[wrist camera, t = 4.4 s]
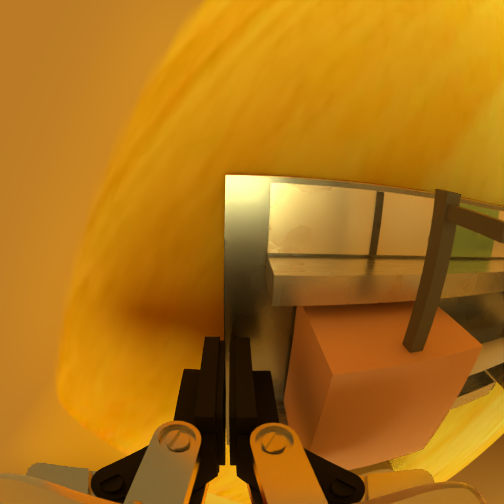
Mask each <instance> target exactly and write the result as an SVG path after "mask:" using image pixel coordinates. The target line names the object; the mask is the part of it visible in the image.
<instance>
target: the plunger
mask: <svg viewBox="0 0 504 504" xmlns="http://www.w3.org/2000/svg"><path fill="white" fill-rule="evenodd" d="M460 197H461V194H458V193H454V192H449V191H444V190H439V189H436V190H435V200H434V208H433V215H432V222H431V229H430V235H429V241H428V246H427V251H426V256H425V261H424V266H423V271H422V275H421V279H420V284H419V288H418V292H417V295H416V299H415V301H403V302H387V303H369V304H347V305H314V306H297V309H296V317H295V325H294V333H293V341H292V348H291V355H290V362H289V369H288V376H287V382H286V389H285V395H284V406H285V411H286V416H287V421H288V426H289V427H290V428H292V429H293V430H294V431H295V432H296V434H297V435H298V437H299V439H300V442H301V444H302V446H303V448H305V449H307V450H309V451H311V452H312V453H314V454H316V455H318V456H320V457H322V458H324V459H326V460H328V461H330V462H332V463H334V464H336V465H338V466H340V467H342V468H344V469H346V470H352V469H356V468H361V467H365V466H369V465H373V464H377V463H380V462H384V461H388V460H391V459H394V458H398V457H401V456H404V455H407V454H410V453H413V452H416V451H419V450H421V449H424V447H425V446H426V445H427V443H428V442H429V440H430V439H431V438H432V436H433V435H434V433H435V432H436V430H437V429H438V427H439V426H440V424H441V423H442V421H443V420H444V418H445V417H446V415H447V413H448V412H449V410H450V409H451V407H452V405H453V404H454V402H455V400H456V398H457V397H458V395H459V393H460V391H461V390H462V388H463V386H464V384H465V382H466V380H467V378H468V376H470V375H473V374H476V373H478V372H481V371H484V370H486V369H489V368H491V367H494V366H496V365H499V364H501V363H504V337H501V338H498V339H495V340H492V341H488V342H485V343H482V344H481V343H480V342H478V341H477V340H476V339H475V338H474V337H473V336H472V335H471V334H470V333H469V332H467V331H466V330H465V329H464V328H463V327H462V326H461V325H459V324H458V323H457V322H456V321H455V320H454V319H453V318H451V317H450V316H449V315H448V314H447V313H446V312H444V311H443V310H442V309H441V308H440V307H438V304H439V301H440V297H441V294H442V290H443V287H444V283H445V279H446V275H447V271H448V266H449V262H450V257H451V253H452V248H453V243H454V237H455V232H456V226H457V225H459V226H461V227H464V228H466V229H469V230H471V231H474V232H476V233H479V234H481V235H483V236H486V237H488V238H490V239H493V240H495V241H497V242H500V243H504V221H503V220H500V219H497V218H494V217H491V216H488V215H485V214H482V213H479V212H476V211H473V210H470V209H467V208H464V207H460V206H459V205H460Z"/></svg>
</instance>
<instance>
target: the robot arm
mask: <svg viewBox="0 0 504 504" xmlns="http://www.w3.org/2000/svg"><path fill="white" fill-rule="evenodd" d="M225 432H226V365H225V341H220V337H206V336H205V341H204V348H203V354H202V362H201V369H200V370H198V369H184V371H183V376H182V380H181V385H180V390H179V395H178V400H177V405H176V411H175V416H174V421H170V422H167V423H164V424H162V425H161V426H160V427H158V428H157V430H156V431H155V433H154V435H153V437H152V439H151V441H150V444H149V445H148V446H146V447H144V448H143V449H141V450H139V451H137V452H135V453H133V454H131V455H129V456H127V457H125V458H123V459H121V460H118V461H116V462H114V463H112V464H110V465H108V466H106V467H103V468H101V469H100V470H98V471H90V469H88V468H77V467H67V466H60V465H53V464H47V463H36V464H33V465H32V466H31V467H30V468H28V471H27V473H26V475H21V474H11V473H3V474H0V504H204V503H205V498H206V494H207V490H208V486H209V482H210V481H211V480H212V479H214V478H215V477H217V476H218V473H219V465H225ZM229 442H230V465H236V470H237V476H238V477H239V478H240V479H242V480H243V481H245V482H246V483H247V488H248V491H249V495H250V499H251V503H252V504H487V503H486V501H485V500H484V498H483V497H482V496H481V495H480V493H479V492H478V491H477V490H476V489H475V488H473V487H472V486H470V485H468V484H465V483H460V482H439V483H434V479H433V477H432V475H431V474H430V473H429V472H428V471H425V470H422V469H414V470H406V471H396V472H385V473H370V474H367V475H366V476H358V475H356V474H354V473H353V472H350V471H348V470H346V469H344V468H342V467H340V466H338V465H336V464H334V463H332V462H330V461H328V460H326V459H324V458H322V457H320V456H318V455H316V454H314V453H312V452H311V451H309V450H307V449H305V448H303V446H302V444H301V442H300V439H299V437H298V435H297V434H296V432H295V431H294V430H293V429H292V428H290V427H289V426H287V425H284V424H281V423H279V417H278V411H277V405H276V399H275V393H274V387H273V381H272V375H271V371H270V370H264V371H253V369H252V358H251V346H250V337H235V341H230V353H229Z"/></svg>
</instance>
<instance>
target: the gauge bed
mask: <svg viewBox="0 0 504 504" xmlns="http://www.w3.org/2000/svg"><path fill="white" fill-rule="evenodd" d="M434 200H435V193H434V192H428V191H422V190H416V189H409V188H402V187H395V186H388V185H380V184H372V183H363V182H354V181H344V180H333V179H322V178H309V177H295V176H278V175H256V174H226V184H225V232H224V341H225V365H226V432H227V445H230V442H229V353H230V341H235V337H250V346H251V358H252V369H253V371H264V370H270V371H271V375H272V381H273V387H274V393H275V399H276V405H277V411H278V417H279V423H281V424H284V425H287V426H288V421H287V416H286V411H285V406H284V395H285V389H286V382H287V376H288V369H289V362H290V355H291V348H292V341H293V333H294V325H295V317H296V309H297V306H314V305H347V304H369V303H387V302H403V301H415V299H416V295H417V292H418V288H419V284H420V279H421V275H422V271H423V266H424V261H425V256H426V251H427V246H428V241H429V235H430V229H431V222H432V215H433V208H434ZM459 206H460V207H464V208H467V209H470V210H473V211H476V212H479V213H482V214H485V215H488V216H491V217H494V218H497V219H500V220H503V221H504V206H499V205H495V204H491V203H486V202H481V201H477V200H472V199H467V198H462V197H460V205H459ZM438 307H440V308H441V309H442V310H443V311H444V312H446V313H447V314H448V315H449V316H450V317H451V318H453V319H454V320H455V321H456V322H457V323H458V324H459V325H461V326H462V327H463V328H464V329H465V330H466V331H467V332H469V333H470V334H471V335H472V336H473V337H474V338H475V339H476V340H477V341H478V342H480V343H481V344H482V343H485V342H488V341H492V340H495V339H498V338H501V337H504V243H500V242H497V241H495V240H493V239H490V238H488V237H486V236H483V235H481V234H479V233H476V232H474V231H471V230H469V229H466V228H464V227H461V226H459V225H457V226H456V232H455V237H454V243H453V248H452V253H451V257H450V262H449V266H448V271H447V275H446V279H445V283H444V287H443V290H442V294H441V297H440V301H439V304H438ZM496 382H498V383H499V384H500V385H501V386H502V387H503V388H504V363H501V364H499V365H496V366H494V367H491V368H489V369H486V370H484V371H481V372H478V373H476V374H473V375H470V376H468V378H467V380H466V382H465V384H464V386H463V388H462V390H461V391H460V393H459V395H458V397H457V398H456V400H455V402H454V404H453V405H452V407H451V409H453V408H456V407H458V406H461V405H463V404H466V403H468V402H470V401H473V400H475V399H477V398H480V397H482V396H484V395H486V394H488V393H489V391H490V390H492V389H493V387H494V385H495V384H496Z"/></svg>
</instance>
